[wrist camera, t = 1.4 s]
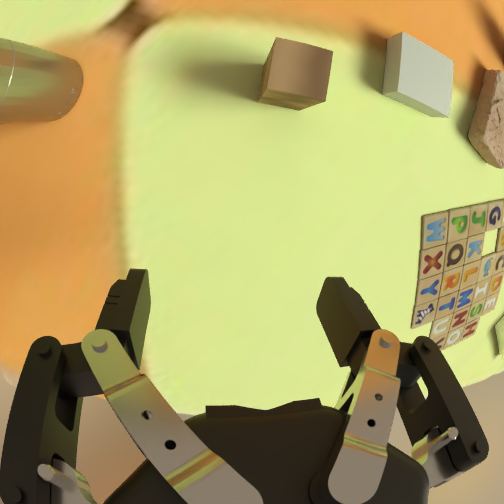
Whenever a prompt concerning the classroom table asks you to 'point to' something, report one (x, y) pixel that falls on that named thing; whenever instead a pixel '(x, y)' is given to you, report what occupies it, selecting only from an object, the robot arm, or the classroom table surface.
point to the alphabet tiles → (458, 271)
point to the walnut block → (295, 75)
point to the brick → (489, 120)
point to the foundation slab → (418, 76)
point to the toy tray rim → (500, 336)
